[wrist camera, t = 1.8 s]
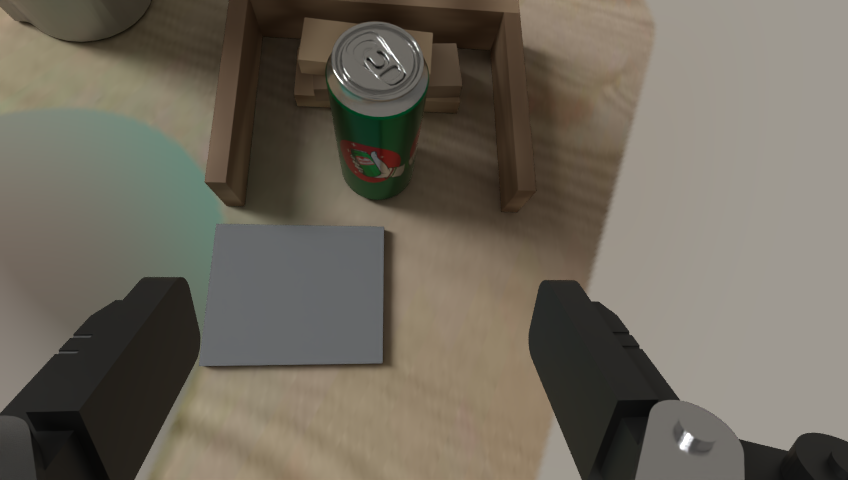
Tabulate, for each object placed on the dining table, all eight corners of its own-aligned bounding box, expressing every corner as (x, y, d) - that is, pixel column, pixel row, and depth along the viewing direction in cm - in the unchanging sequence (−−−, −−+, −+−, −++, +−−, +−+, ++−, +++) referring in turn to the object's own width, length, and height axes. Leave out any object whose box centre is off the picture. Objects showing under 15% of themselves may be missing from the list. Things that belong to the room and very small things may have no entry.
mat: (202, 365, 27) (198, 366, 26) (219, 226, 29) (216, 223, 29) (382, 363, 28) (382, 363, 27) (383, 229, 31) (383, 226, 30)
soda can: (381, 126, 33) (384, -3, 21) (426, 174, 32) (454, 67, 21) (327, 165, 31) (299, 49, 20) (373, 216, 31) (371, 126, 19)
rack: (226, 205, 30) (204, 181, 26) (248, 22, 34) (231, -21, 30) (517, 211, 32) (536, 190, 28) (503, 38, 36) (518, -1, 32)
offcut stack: (296, 111, 32) (285, 74, 28) (300, 58, 34) (290, 16, 30) (456, 118, 34) (467, 84, 30) (454, 66, 35) (464, 27, 31)
